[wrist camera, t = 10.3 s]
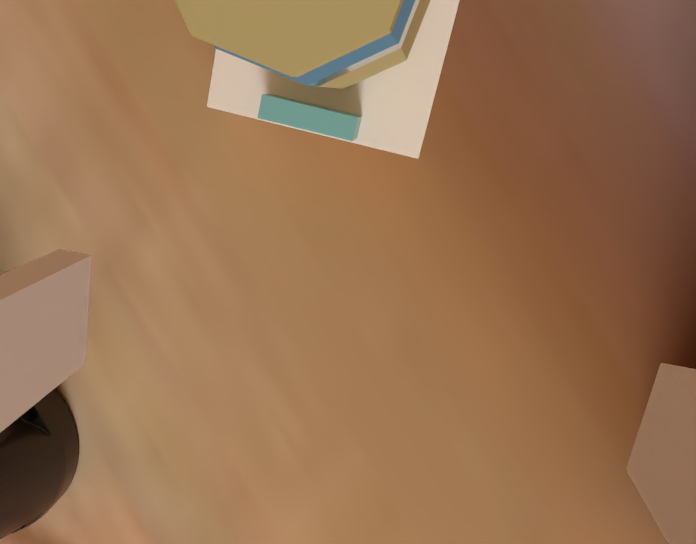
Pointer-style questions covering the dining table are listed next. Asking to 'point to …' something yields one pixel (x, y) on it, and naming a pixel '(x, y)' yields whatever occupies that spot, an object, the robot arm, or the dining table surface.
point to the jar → (310, 35)
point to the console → (346, 93)
